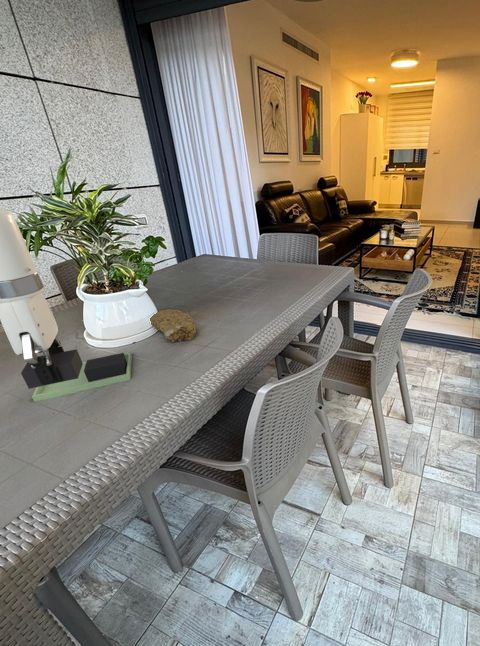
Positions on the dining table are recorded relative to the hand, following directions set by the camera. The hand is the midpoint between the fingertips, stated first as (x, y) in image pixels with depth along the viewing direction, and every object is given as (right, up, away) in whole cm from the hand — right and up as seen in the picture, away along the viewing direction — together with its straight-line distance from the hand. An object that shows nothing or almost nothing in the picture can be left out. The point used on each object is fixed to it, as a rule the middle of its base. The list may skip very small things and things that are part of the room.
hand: (56, 373), depth 69 cm
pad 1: (0, -1, 0) cm, 1 cm away
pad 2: (-6, -2, +27) cm, 28 cm away
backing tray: (-10, -3, +25) cm, 28 cm away
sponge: (+3, +10, +49) cm, 50 cm away
